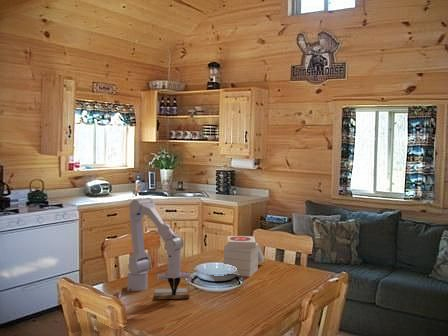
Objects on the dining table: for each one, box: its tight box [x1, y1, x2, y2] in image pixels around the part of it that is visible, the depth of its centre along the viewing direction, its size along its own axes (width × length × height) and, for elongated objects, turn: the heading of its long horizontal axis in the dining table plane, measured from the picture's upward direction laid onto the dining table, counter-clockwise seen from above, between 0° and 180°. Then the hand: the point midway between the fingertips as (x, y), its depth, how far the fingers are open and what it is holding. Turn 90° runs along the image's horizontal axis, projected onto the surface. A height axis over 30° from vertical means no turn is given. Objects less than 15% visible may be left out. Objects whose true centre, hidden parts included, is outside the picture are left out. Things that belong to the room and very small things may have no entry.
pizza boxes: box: [223, 235, 265, 278], centre depth 266 cm, size 19×30×18 cm, turn 159°
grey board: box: [154, 287, 188, 294], centre depth 222 cm, size 15×6×2 cm, turn 99°
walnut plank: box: [154, 291, 190, 300], centre depth 214 cm, size 15×9×2 cm, turn 99°
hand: (173, 294), depth 212 cm, fingers closed, pressing on walnut plank
